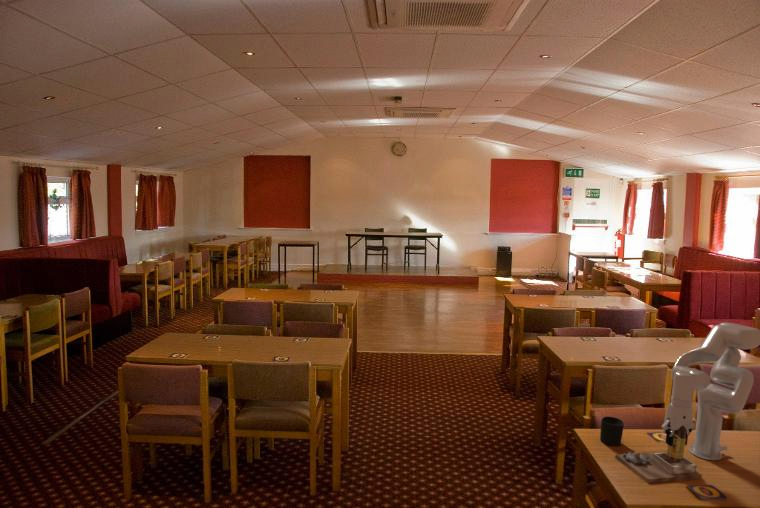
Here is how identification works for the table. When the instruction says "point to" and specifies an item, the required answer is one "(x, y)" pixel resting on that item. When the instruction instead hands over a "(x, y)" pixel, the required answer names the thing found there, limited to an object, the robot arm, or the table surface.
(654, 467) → the gear board
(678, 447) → the sauce bottle
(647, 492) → the table surface
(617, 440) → the pen holder
